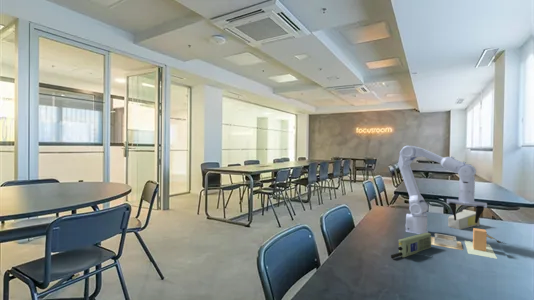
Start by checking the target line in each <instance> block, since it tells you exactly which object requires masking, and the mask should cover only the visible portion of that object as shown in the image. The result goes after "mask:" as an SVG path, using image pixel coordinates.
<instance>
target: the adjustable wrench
mask: <svg viewBox="0 0 534 300" xmlns="http://www.w3.org/2000/svg"><path fill="white" fill-rule="evenodd" d="M476 228H477V229H479V228H478V227H476ZM487 238H489V239H490V240H491V239H492V240H496V242H497V244H502V241H500V240H497V239H496V238H495V237H493V236H491V235H489V234H487ZM503 244H507V243H506V242H503Z"/></svg>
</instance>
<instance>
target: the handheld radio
mask: <svg viewBox="0 0 534 300" xmlns="http://www.w3.org/2000/svg"><path fill="white" fill-rule="evenodd" d="M431 237H432V233H430V232H428V233H422V234H416V235H412V236H408V237H407V236H406V237H404V238H399V239H398V240H397V241H398V247H397V249H398V252H396V253H393V254H390V258H391V259H396V258H398V257H399V258H401V257H402V258H406V257H410V256H413V255H416V254H418V253H419V252H422V251H424V250H428V249H431V248H432V245H431Z"/></svg>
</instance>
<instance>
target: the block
mask: <svg viewBox="0 0 534 300" xmlns="http://www.w3.org/2000/svg"><path fill="white" fill-rule="evenodd" d="M475 216H476V210H475V211H474V210H468V209H466V208H464V209H462V211H459V212H456V220H454V215H453V214H452V215H449V216H448V218H447V221H448V222H447V223H448V225H447V226H448V228H452V229H455V230H463V229H468V228H472V227H479V226H481V225H480V218H479V219H478V223H475Z"/></svg>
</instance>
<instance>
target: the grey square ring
mask: <svg viewBox="0 0 534 300" xmlns="http://www.w3.org/2000/svg"><path fill="white" fill-rule="evenodd" d="M434 237H435V241H434V244H439V245H444V246H450V247H456V248H457V236H456V235H454V236H453V235H449V234H448V235H447V234H441V233H434Z"/></svg>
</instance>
